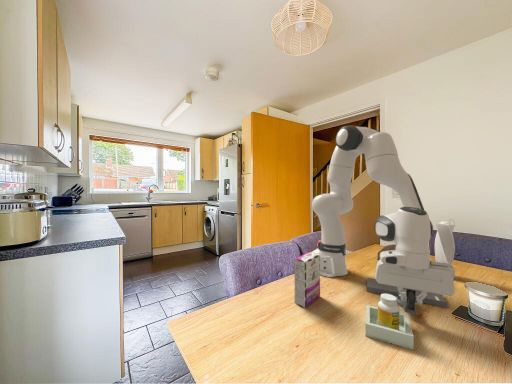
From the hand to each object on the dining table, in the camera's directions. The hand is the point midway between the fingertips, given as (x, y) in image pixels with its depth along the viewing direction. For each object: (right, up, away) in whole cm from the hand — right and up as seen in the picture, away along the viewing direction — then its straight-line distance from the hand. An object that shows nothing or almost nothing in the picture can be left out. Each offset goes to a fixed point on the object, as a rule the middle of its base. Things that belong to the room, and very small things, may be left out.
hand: (411, 301), depth 68 cm
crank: (+2, -4, +5) cm, 7 cm away
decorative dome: (+31, -5, +54) cm, 62 cm away
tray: (-11, -6, -5) cm, 14 cm away
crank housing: (+7, -5, +14) cm, 16 cm away
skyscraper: (+40, -6, +33) cm, 52 cm away
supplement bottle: (-11, -5, -6) cm, 13 cm away
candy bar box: (-30, -5, +12) cm, 33 cm away
